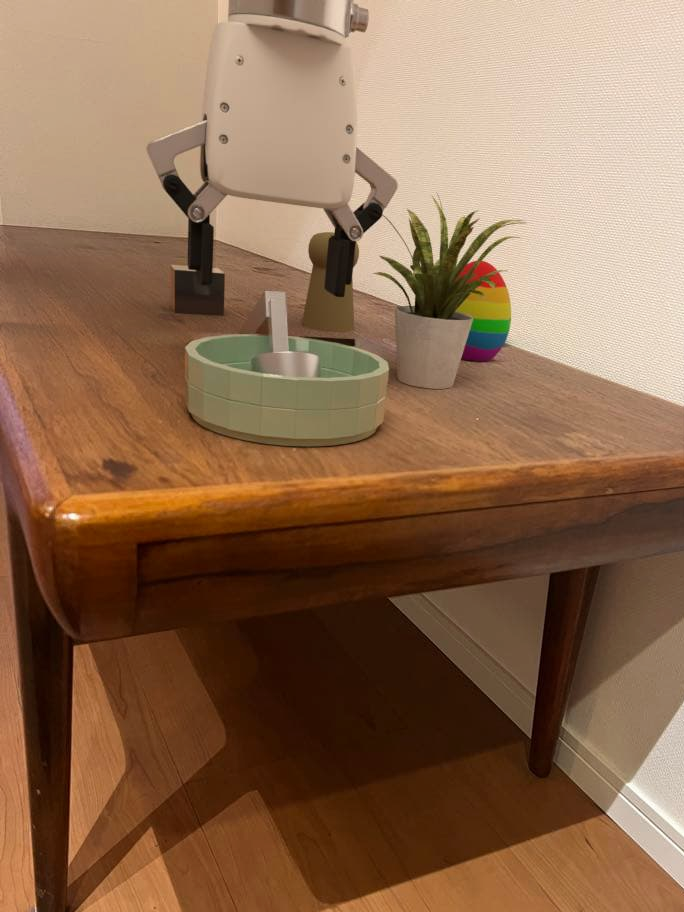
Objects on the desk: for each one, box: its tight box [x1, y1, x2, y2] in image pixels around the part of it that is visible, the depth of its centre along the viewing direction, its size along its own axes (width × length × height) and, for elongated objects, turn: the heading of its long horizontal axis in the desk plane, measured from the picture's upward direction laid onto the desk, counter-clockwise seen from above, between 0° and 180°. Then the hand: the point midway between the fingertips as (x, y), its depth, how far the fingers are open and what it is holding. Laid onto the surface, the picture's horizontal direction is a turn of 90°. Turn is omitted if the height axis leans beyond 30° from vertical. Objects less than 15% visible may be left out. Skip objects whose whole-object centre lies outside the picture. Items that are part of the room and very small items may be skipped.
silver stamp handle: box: [237, 290, 322, 378], centre depth 62 cm, size 18×5×8 cm, turn 21°
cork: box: [298, 231, 360, 347], centre depth 82 cm, size 6×6×11 cm
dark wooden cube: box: [169, 264, 226, 317], centre depth 82 cm, size 5×4×6 cm
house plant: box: [370, 193, 526, 390], centre depth 69 cm, size 14×14×16 cm
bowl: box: [184, 333, 390, 447], centre depth 56 cm, size 14×14×4 cm
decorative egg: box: [455, 260, 512, 362], centre depth 84 cm, size 8×8×10 cm
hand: (270, 288), depth 57 cm, fingers open, 9 cm apart
